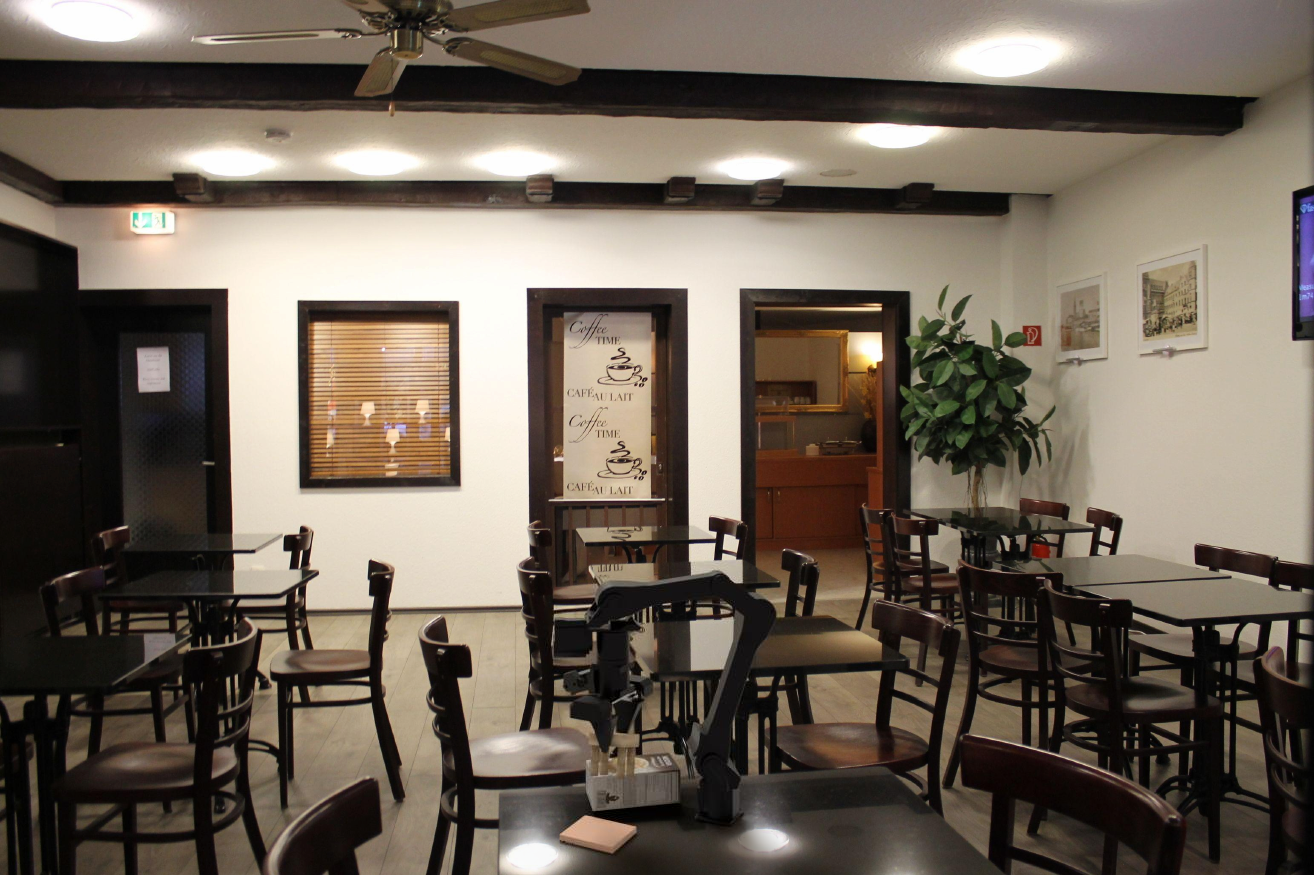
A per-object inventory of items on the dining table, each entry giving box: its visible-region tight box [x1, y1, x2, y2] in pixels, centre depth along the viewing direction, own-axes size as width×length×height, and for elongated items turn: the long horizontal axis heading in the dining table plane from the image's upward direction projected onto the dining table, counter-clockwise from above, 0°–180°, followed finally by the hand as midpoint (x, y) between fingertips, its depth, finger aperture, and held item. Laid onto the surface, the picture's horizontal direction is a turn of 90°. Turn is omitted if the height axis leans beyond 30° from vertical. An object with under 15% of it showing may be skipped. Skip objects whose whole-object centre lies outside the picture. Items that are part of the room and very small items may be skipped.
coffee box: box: [585, 752, 682, 812], centre depth 163 cm, size 9×6×16 cm
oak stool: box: [588, 731, 640, 779], centre depth 152 cm, size 7×5×7 cm
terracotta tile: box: [559, 815, 637, 854], centre depth 148 cm, size 10×8×1 cm
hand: (613, 747), depth 152 cm, fingers closed on oak stool, 5 cm apart
